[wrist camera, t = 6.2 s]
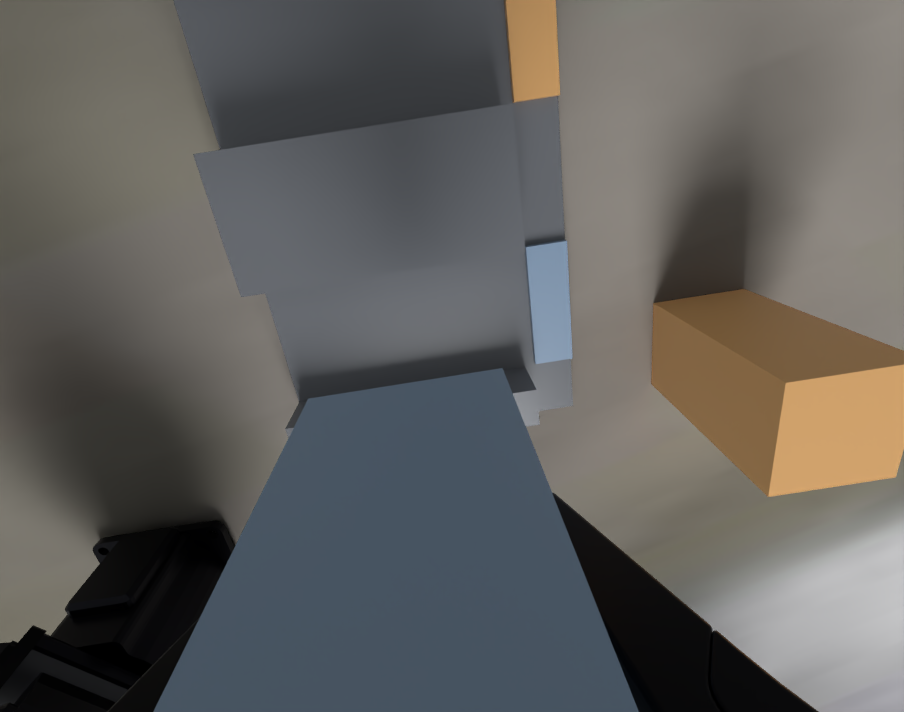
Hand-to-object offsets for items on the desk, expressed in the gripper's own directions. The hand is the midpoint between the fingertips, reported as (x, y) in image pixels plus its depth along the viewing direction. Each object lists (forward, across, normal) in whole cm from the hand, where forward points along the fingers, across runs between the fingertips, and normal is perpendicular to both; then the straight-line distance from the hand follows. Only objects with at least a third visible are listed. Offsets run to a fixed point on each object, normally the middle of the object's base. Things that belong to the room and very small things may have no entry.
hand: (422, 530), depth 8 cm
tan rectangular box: (+12, -12, +3) cm, 18 cm away
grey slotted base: (+12, 0, -5) cm, 14 cm away
